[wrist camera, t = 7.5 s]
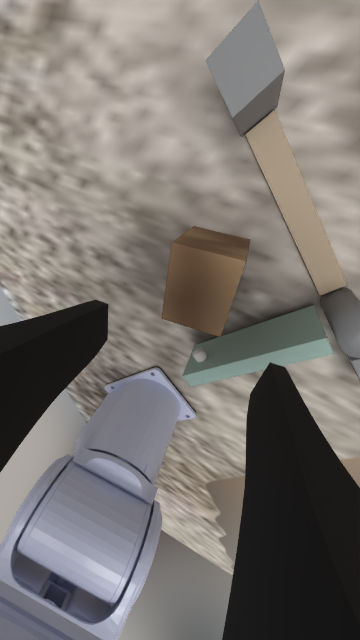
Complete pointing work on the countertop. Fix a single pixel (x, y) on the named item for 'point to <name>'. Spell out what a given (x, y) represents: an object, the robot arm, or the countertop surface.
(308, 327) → the pale green long block
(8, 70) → the countertop surface
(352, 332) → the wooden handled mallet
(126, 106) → the countertop surface
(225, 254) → the block
